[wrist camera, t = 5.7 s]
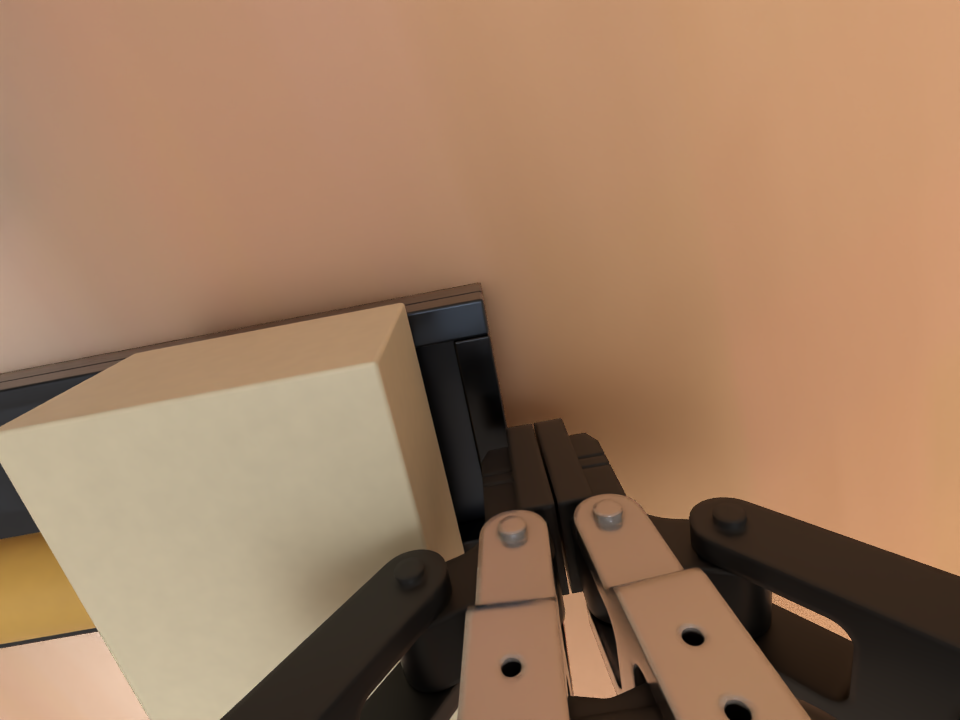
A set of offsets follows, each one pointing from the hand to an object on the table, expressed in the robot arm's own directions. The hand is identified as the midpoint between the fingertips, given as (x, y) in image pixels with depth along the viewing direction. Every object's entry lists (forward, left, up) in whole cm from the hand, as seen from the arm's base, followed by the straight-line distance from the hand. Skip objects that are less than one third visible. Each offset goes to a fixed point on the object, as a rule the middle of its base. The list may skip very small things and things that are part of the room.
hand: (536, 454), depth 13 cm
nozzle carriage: (-9, 0, -2) cm, 9 cm away
